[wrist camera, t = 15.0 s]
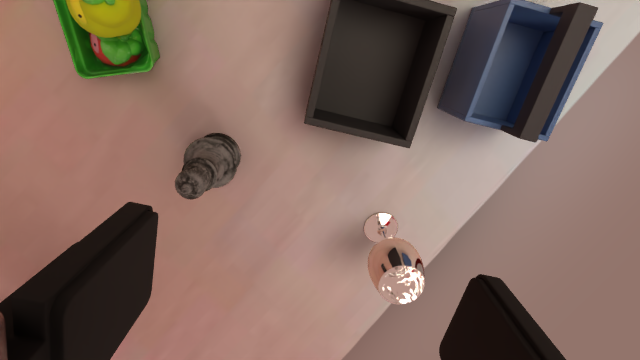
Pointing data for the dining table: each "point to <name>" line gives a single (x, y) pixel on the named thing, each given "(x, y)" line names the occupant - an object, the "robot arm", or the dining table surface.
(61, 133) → the dining table surface
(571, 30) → the blue tote
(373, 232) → the wineglass
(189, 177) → the grey chess piece
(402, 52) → the black tote
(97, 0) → the fruit basket
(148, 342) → the dining table surface
